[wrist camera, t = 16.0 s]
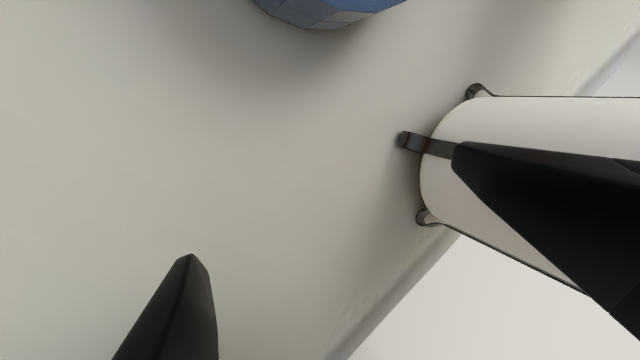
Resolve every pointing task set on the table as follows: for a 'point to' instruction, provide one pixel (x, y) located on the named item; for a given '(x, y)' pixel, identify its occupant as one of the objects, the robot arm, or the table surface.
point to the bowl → (324, 11)
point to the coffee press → (520, 131)
